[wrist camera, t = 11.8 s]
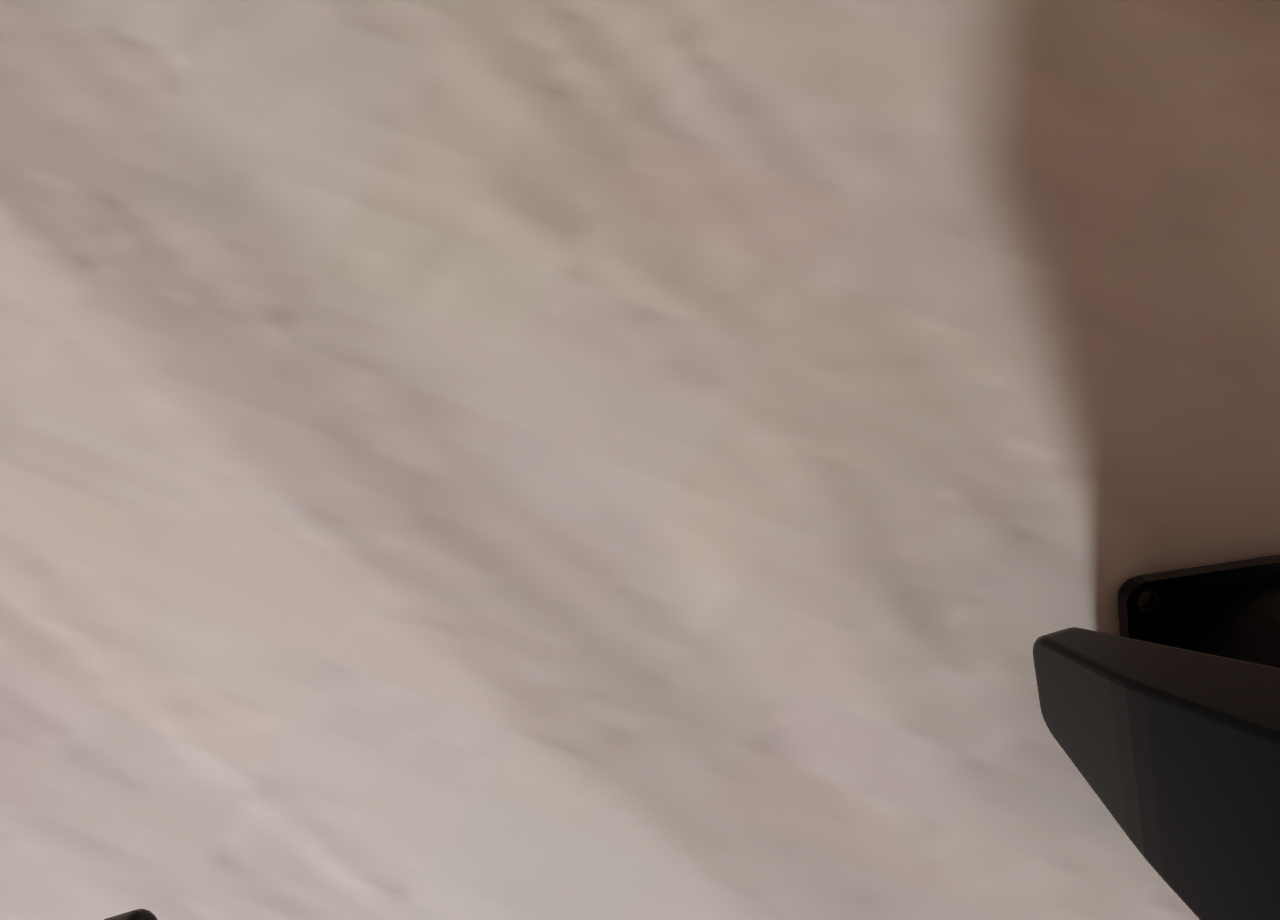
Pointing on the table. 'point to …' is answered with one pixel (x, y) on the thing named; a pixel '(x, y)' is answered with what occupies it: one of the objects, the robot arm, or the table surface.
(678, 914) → the table surface
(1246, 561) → the robot arm
